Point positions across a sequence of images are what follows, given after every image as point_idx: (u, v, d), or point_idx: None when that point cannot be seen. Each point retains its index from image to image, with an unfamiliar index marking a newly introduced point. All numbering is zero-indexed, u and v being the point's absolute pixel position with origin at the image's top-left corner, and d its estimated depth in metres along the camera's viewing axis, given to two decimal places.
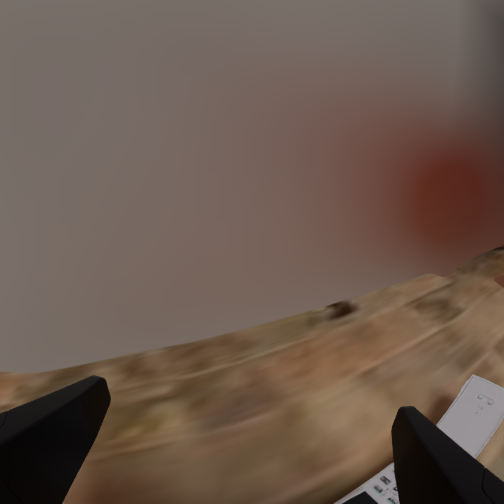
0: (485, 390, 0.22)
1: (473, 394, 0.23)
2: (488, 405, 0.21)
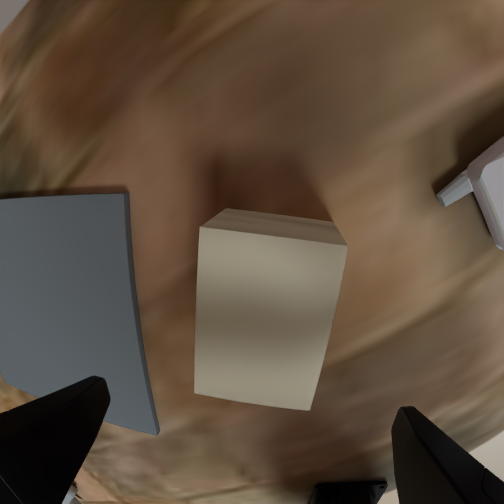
0: None
1: None
2: None
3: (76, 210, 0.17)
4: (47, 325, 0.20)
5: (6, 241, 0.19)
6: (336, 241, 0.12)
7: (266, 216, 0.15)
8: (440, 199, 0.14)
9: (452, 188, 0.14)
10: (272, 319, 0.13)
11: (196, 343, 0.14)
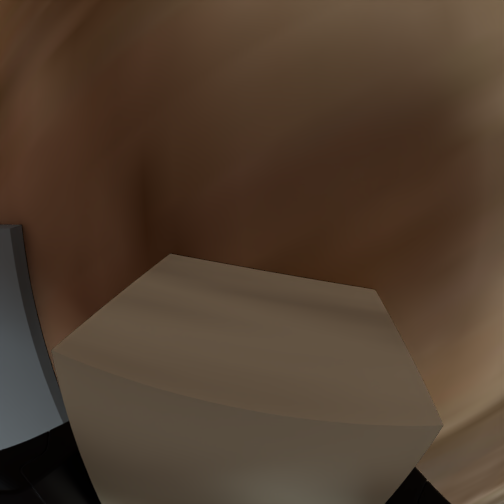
0: None
1: None
2: None
3: None
4: None
5: None
6: (410, 399, 0.04)
7: (242, 285, 0.07)
8: None
9: None
10: None
11: None
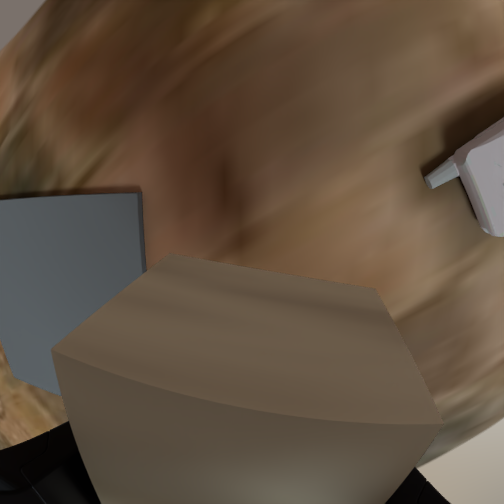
0: None
1: None
2: None
3: (91, 209, 0.19)
4: (60, 319, 0.21)
5: (20, 238, 0.20)
6: (411, 397, 0.04)
7: (242, 284, 0.07)
8: (428, 181, 0.16)
9: (439, 171, 0.15)
10: None
11: None
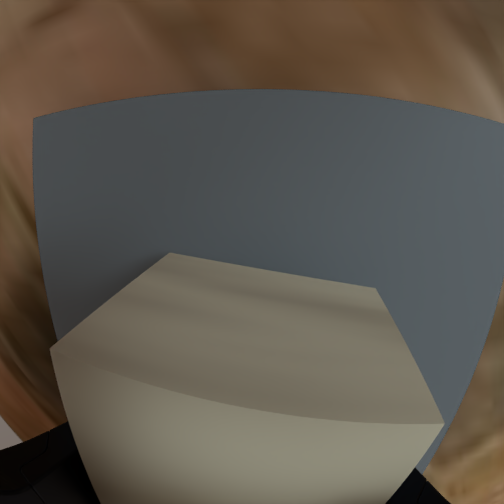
0: None
1: None
2: None
3: (49, 202, 0.11)
4: None
5: None
6: (411, 397, 0.04)
7: (242, 283, 0.07)
8: None
9: None
10: None
11: None
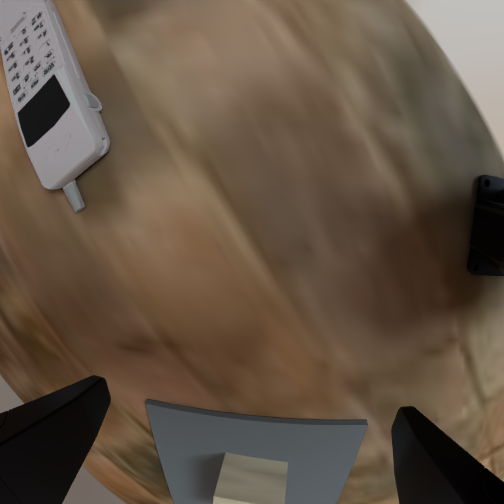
0: None
1: None
2: None
3: (161, 432, 0.25)
4: None
5: (192, 481, 0.26)
6: (280, 500, 0.20)
7: (248, 466, 0.23)
8: (79, 210, 0.20)
9: (70, 201, 0.20)
10: None
11: None
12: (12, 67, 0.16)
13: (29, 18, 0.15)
